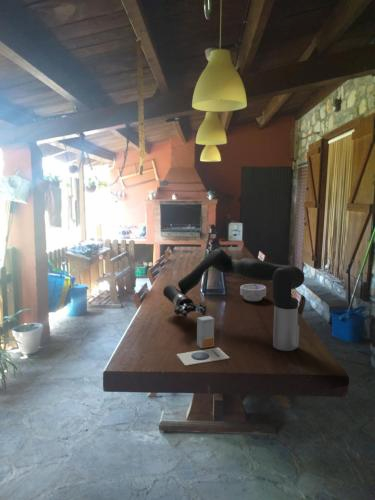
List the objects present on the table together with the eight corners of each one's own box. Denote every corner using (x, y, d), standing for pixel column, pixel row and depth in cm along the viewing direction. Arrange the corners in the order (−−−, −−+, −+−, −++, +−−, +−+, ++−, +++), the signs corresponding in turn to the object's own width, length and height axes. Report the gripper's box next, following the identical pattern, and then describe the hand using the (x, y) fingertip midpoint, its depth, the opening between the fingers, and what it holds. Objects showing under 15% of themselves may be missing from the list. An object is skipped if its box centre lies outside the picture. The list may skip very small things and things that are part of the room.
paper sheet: (218, 348, 149) (218, 347, 149) (229, 358, 139) (229, 357, 139) (176, 354, 143) (176, 353, 142) (185, 365, 133) (185, 364, 133)
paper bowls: (234, 299, 219) (235, 286, 218) (250, 294, 229) (250, 282, 228) (255, 304, 208) (255, 291, 206) (271, 299, 218) (271, 286, 217)
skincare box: (201, 349, 148) (201, 320, 146) (196, 345, 152) (196, 317, 150) (214, 346, 150) (214, 318, 149) (209, 342, 154) (210, 315, 152)
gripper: (169, 297, 172) (180, 307, 157) (197, 294, 177) (210, 304, 162) (169, 312, 173) (180, 324, 158) (197, 309, 178) (210, 320, 163)
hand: (195, 314), depth 160 cm, fingers open, 8 cm apart
